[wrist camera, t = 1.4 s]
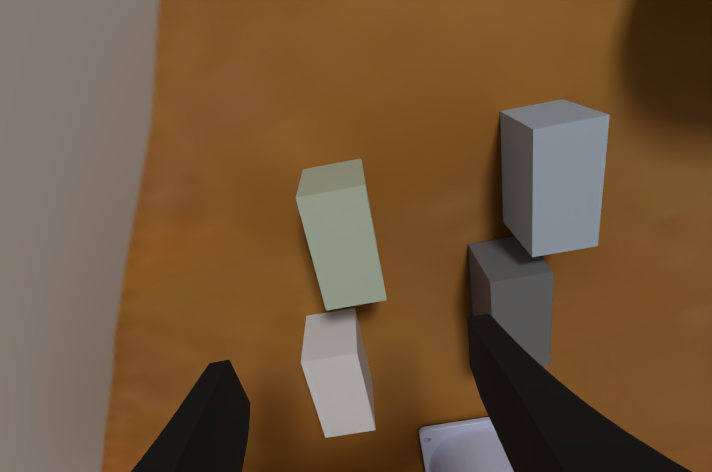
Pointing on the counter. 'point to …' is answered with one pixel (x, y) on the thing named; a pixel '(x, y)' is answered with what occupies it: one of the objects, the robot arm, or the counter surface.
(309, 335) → the grey brick
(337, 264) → the sage brick
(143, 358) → the counter surface
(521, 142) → the blue brick
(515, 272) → the charcoal brick
